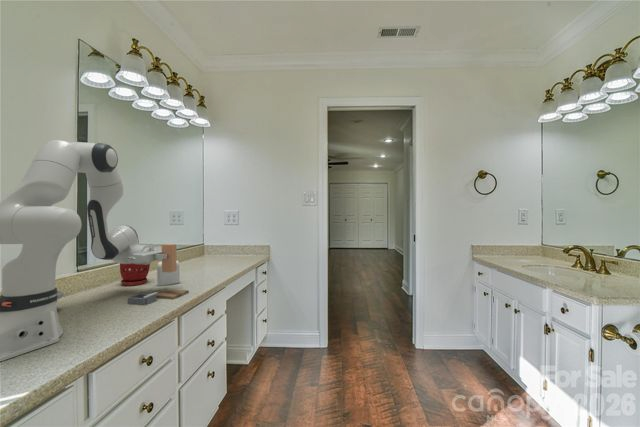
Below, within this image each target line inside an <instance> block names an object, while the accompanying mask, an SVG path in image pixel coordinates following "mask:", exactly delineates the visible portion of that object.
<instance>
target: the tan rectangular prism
mask: <svg viewBox="0 0 640 427" xmlns="http://www.w3.org/2000/svg"><path fill="white" fill-rule="evenodd" d="M161 247H162V254H168V255H169V256H168V257H169V258H167V259H161V261H162V272H175V271H177V265H176V260H177V244H176V243H175V244H174V243H166V244H161Z"/></svg>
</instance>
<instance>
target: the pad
mask: <svg viewBox="0 0 640 427" xmlns="http://www.w3.org/2000/svg"><path fill="white" fill-rule="evenodd" d="M156 292H157V294H156V298H157V299H165V300H167V299H168V300H176V299H177V298H180V297H182V296H185V295H186V294H189V292H190V291H189V290H188V289H187V290H186V289H171V288H170V289H169V288H165V289H162V290H160V291H156Z"/></svg>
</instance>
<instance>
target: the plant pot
mask: <svg viewBox="0 0 640 427" xmlns="http://www.w3.org/2000/svg"><path fill="white" fill-rule="evenodd" d="M150 264H151V263H150ZM150 264H147V265H140V264H133V263H132V264H121V263H119V273H120V276H121V278H122V279H121V280H120V283H121V284H122V286H137V285H142V284H144V283H146V282H148V278H147V277H148V275H149V271H150V268H151V266H150Z"/></svg>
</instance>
